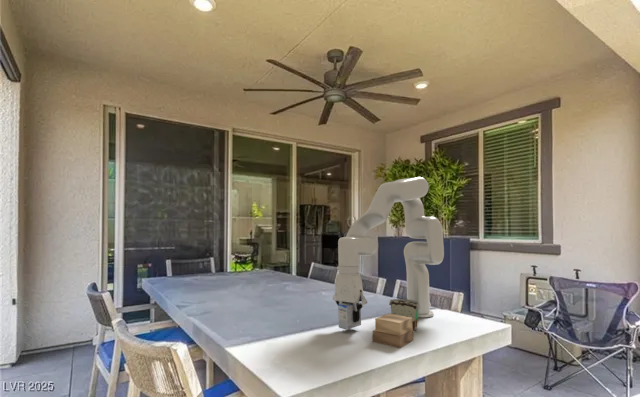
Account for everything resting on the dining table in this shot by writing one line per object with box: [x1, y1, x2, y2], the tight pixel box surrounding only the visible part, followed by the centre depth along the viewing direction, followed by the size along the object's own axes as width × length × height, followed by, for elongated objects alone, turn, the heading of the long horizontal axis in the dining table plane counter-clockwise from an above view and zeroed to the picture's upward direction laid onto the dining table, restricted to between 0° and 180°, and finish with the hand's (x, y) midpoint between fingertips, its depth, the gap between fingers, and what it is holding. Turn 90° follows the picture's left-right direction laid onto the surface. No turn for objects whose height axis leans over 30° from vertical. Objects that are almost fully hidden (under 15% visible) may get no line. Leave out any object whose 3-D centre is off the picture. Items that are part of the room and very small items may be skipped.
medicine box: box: [337, 302, 362, 331], centre depth 132 cm, size 8×4×9 cm, turn 135°
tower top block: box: [374, 313, 413, 336], centre depth 121 cm, size 9×9×4 cm
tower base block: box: [371, 329, 414, 349], centre depth 120 cm, size 10×10×4 cm
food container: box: [388, 298, 420, 333], centre depth 137 cm, size 12×6×10 cm, turn 47°
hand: (349, 319), depth 132 cm, fingers closed on medicine box, 4 cm apart
